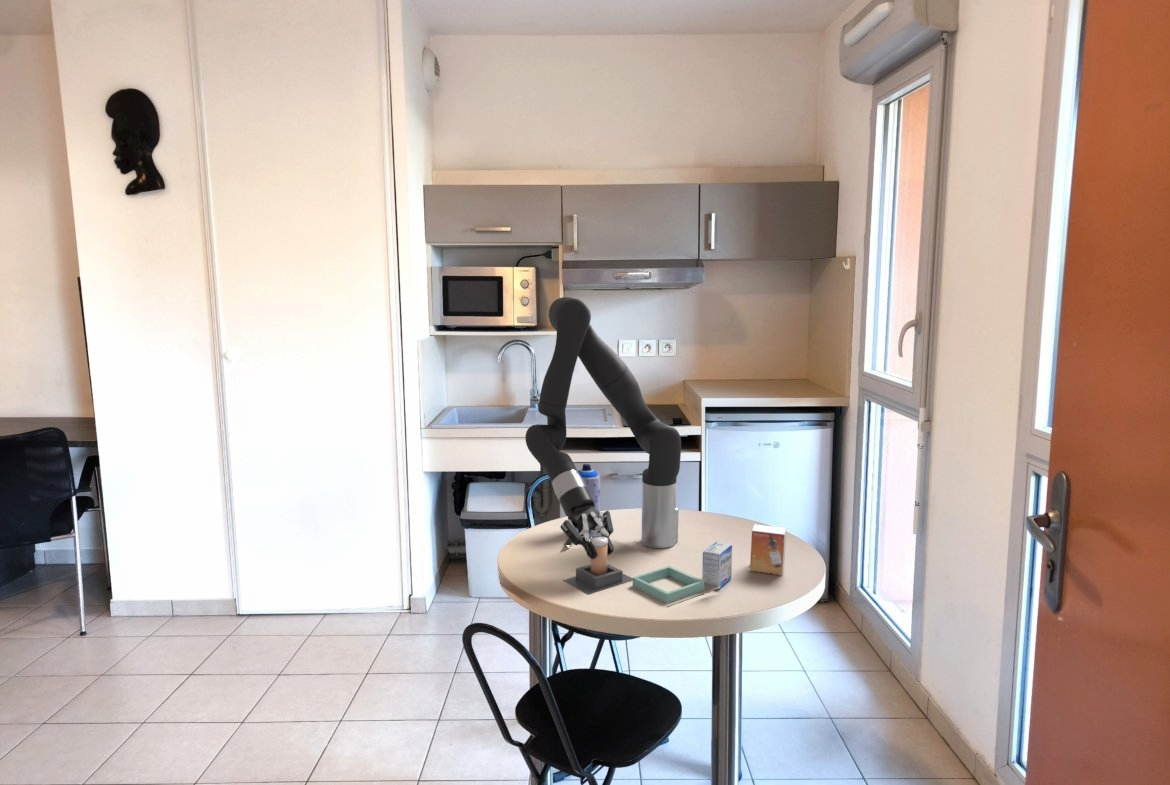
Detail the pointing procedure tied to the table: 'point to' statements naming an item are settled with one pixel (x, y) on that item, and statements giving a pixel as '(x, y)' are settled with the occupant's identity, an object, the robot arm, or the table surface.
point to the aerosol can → (591, 487)
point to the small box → (768, 549)
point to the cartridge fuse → (599, 556)
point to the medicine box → (717, 564)
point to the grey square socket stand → (597, 579)
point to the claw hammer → (566, 546)
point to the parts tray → (692, 588)
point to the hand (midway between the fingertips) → (602, 555)
